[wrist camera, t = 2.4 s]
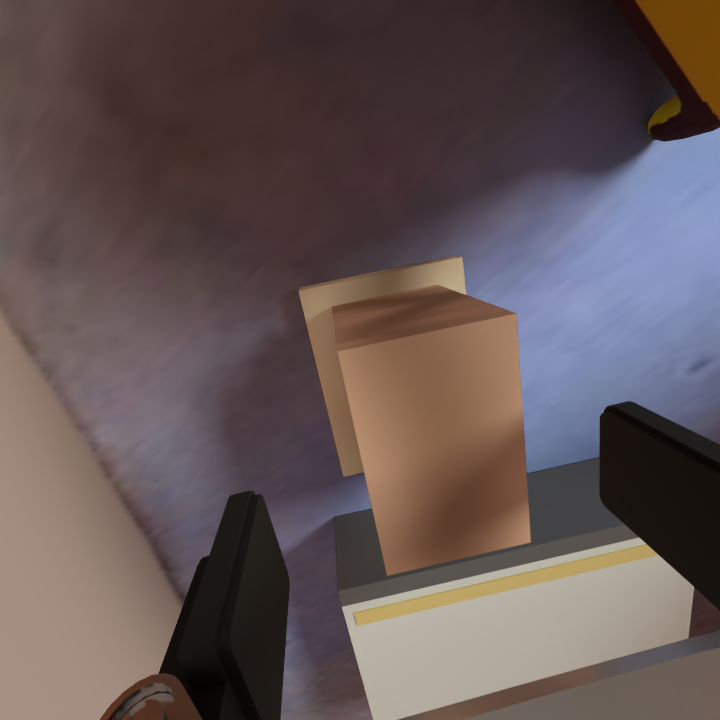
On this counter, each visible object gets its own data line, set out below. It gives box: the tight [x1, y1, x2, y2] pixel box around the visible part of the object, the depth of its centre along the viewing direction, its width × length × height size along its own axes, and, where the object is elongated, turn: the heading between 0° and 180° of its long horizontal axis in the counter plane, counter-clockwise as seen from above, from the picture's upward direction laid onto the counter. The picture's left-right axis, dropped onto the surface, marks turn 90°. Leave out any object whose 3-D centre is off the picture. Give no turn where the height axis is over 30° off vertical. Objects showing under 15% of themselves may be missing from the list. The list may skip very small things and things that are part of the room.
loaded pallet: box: [299, 256, 531, 576], centre depth 16 cm, size 8×10×9 cm
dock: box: [334, 457, 694, 720], centre depth 22 cm, size 18×14×5 cm
